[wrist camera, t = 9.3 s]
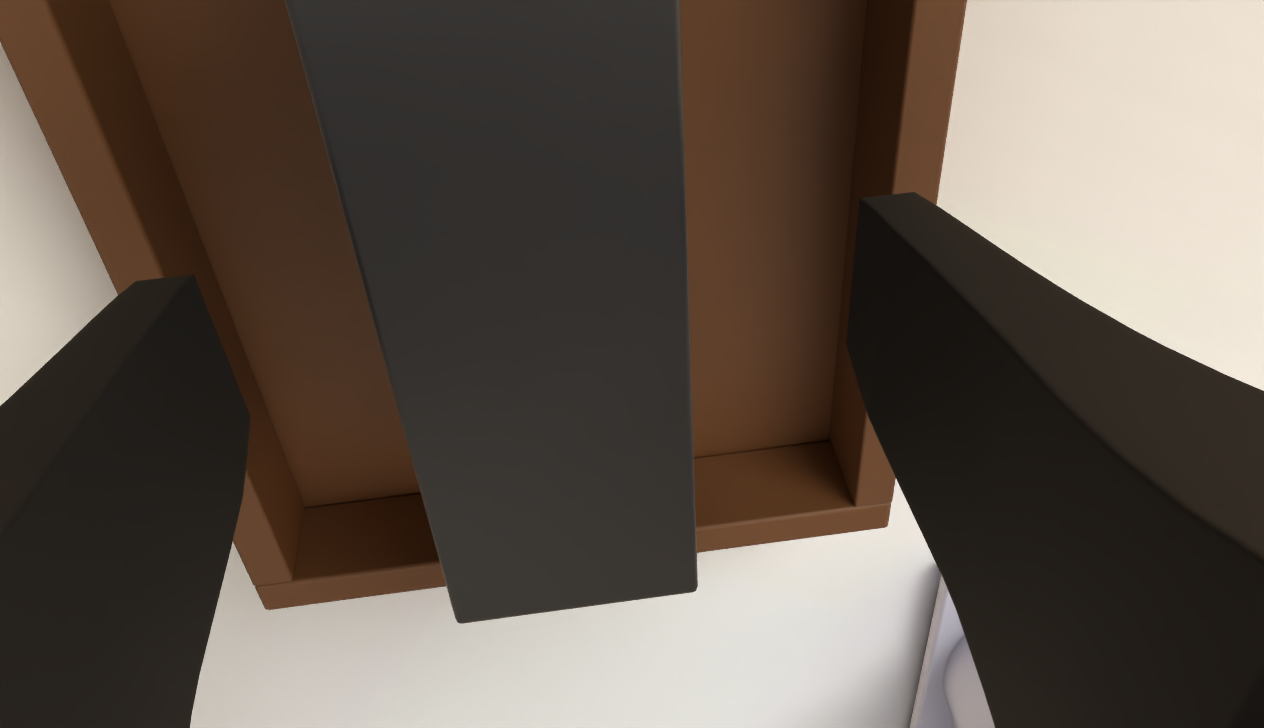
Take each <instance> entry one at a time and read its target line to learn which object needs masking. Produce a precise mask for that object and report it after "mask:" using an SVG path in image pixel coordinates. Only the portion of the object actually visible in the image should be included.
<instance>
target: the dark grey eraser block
mask: <svg viewBox="0 0 1264 728" xmlns="http://www.w3.org/2000/svg"><path fill="white" fill-rule="evenodd" d="M284 1H285V4H286V8H287V11H288V15H289V19H290V22H291V26H292V29H293V33H294V37H295V40H296V44H297V48H298V51H299V55H300V58H301V62H302V66H303V69H304V73H305V76H306V80H307V84H308V87H309V91H310V94H311V98H312V102H313V105H314V109H315V113H316V116H317V120H318V123H319V127H320V131H321V134H322V138H323V141H324V145H325V149H326V152H327V156H328V160H329V163H330V167H331V170H332V174H333V178H334V181H335V185H336V188H337V192H338V196H339V199H340V203H341V206H342V210H343V214H344V217H345V221H346V225H347V228H348V232H349V235H350V239H351V243H352V246H353V250H354V253H355V257H356V261H357V264H358V268H359V272H360V275H361V279H362V282H363V286H364V290H365V293H366V297H367V300H368V304H369V308H370V311H371V315H372V318H373V322H374V326H375V329H376V333H377V337H378V340H379V344H380V347H381V351H382V355H383V358H384V362H385V365H386V369H387V373H388V376H389V380H390V384H391V387H392V391H393V394H394V398H395V402H396V405H397V409H398V412H399V416H400V420H401V423H402V427H403V430H404V434H405V438H406V441H407V445H408V449H409V452H410V456H411V459H412V463H413V467H414V470H415V474H416V477H417V481H418V485H419V488H420V492H421V496H422V499H423V503H424V506H425V510H426V514H427V517H428V521H429V524H430V528H431V532H432V535H433V539H434V542H435V546H436V550H437V553H438V557H439V561H440V564H441V568H442V571H443V575H444V579H445V582H446V586H447V589H448V593H449V597H450V600H451V604H452V608H453V611H454V615H455V618H456V620H457V622H458V623H469V622H477V621H484V620H491V619H499V618H506V617H513V616H521V615H528V614H535V613H543V612H550V611H558V610H565V609H572V608H580V607H587V606H594V605H602V604H609V603H616V602H624V601H631V600H639V599H646V598H653V597H661V596H668V595H675V594H683V593H690V592H694V591H696V589H697V586H698V581H697V547H696V514H695V480H694V447H693V413H692V379H691V346H690V312H689V278H688V245H687V211H686V177H685V144H684V110H683V76H682V43H681V9H680V0H284Z"/></svg>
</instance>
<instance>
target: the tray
mask: <svg viewBox="0 0 1264 728" xmlns="http://www.w3.org/2000/svg"><path fill="white" fill-rule="evenodd" d="M966 3H967V0H680V9H681V43H682V76H683V110H684V144H685V177H686V211H687V245H688V278H689V312H690V346H691V379H692V413H693V447H694V480H695V514H696V547H697V553H698V552H705V551H713V550H720V549H728V548H735V547H743V546H750V545H758V544H765V543H773V542H780V541H788V540H795V539H803V538H810V537H818V536H825V535H833V534H840V533H848V532H855V531H863V530H870V529H877V528H885V527H887V526H888V521H889V514H890V507H891V502H892V498H893V492H894V485H895V478H896V477H895V475H894V472H893V470H892V468H891V466H890V464H889V462H888V459H887V457H886V455H885V453H884V451H883V448H882V446H881V444H880V442H879V440H878V438H877V435H876V433H875V431H874V429H873V426H872V424H871V422H870V420H869V418H868V414H867V411H866V408H865V405H864V402H863V399H862V396H861V392H860V389H859V386H858V383H857V379H856V376H855V372H854V369H853V366H852V362H851V359H850V355H849V352H848V348H847V345H846V340H847V329H848V318H849V307H850V296H851V285H852V274H853V264H854V253H855V242H856V231H857V220H858V209H859V199H860V198H865V197H874V196H883V195H892V194H900V193H909V192H915V193H917V194H919V195H920V196H922V197H924V198H925V199H927V200H929V201H930V202H932V203H933V204H935V205H936V204H937V197H938V190H939V184H940V177H941V170H942V163H943V157H944V150H945V143H946V137H947V130H948V123H949V117H950V110H951V103H952V96H953V90H954V83H955V76H956V70H957V63H958V56H959V50H960V43H961V36H962V29H963V23H964V16H965V9H966ZM0 42H1V44H2V46H3V48H4V51H5V53H6V55H7V57H8V59H9V61H10V63H11V66H12V68H13V70H14V72H15V74H16V76H17V78H18V81H19V83H20V85H21V87H22V89H23V91H24V93H25V96H26V98H27V100H28V102H29V104H30V106H31V108H32V111H33V113H34V115H35V117H36V119H37V121H38V124H39V126H40V128H41V130H42V132H43V134H44V136H45V139H46V141H47V143H48V145H49V147H50V149H51V151H52V154H53V156H54V158H55V160H56V162H57V164H58V166H59V169H60V171H61V173H62V175H63V177H64V179H65V181H66V184H67V186H68V188H69V190H70V192H71V194H72V196H73V199H74V201H75V203H76V205H77V207H78V209H79V211H80V214H81V216H82V218H83V220H84V222H85V224H86V227H87V229H88V231H89V233H90V235H91V237H92V239H93V242H94V244H95V246H96V248H97V250H98V252H99V254H100V257H101V259H102V261H103V263H104V265H105V267H106V269H107V272H108V274H109V276H110V278H111V280H112V282H113V284H114V287H115V289H116V291H117V293H118V295H119V294H121V293H122V292H123V291H124V290H125V289H127V288H128V287H129V286H130V285H132V284H133V283H134V282H135V281H141V280H149V279H158V278H167V277H175V276H184V275H193V274H194V276H195V279H196V281H197V284H198V286H199V289H200V291H201V294H202V296H203V299H204V301H205V304H206V306H207V309H208V311H209V314H210V316H211V319H212V321H213V324H214V326H215V329H216V331H217V334H218V336H219V339H220V341H221V344H222V346H223V349H224V351H225V354H226V356H227V359H228V361H229V364H230V366H231V369H232V371H233V374H234V376H235V379H236V381H237V384H238V386H239V389H240V391H241V394H242V396H243V399H244V401H245V404H246V406H247V409H248V411H249V414H250V428H249V441H248V454H247V465H246V474H245V483H244V493H243V499H242V503H241V507H240V512H239V516H238V520H237V525H236V529H235V533H234V537H233V542H234V544H235V546H236V548H237V551H238V553H239V555H240V557H241V559H242V561H243V563H244V566H245V568H246V570H247V572H248V574H249V576H250V578H251V581H252V583H253V585H254V586H255V588H256V590H257V592H258V594H259V597H260V599H261V601H262V603H263V605H264V607H265V609H267V610H272V609H279V608H287V607H294V606H302V605H309V604H317V603H324V602H331V601H339V600H346V599H354V598H361V597H369V596H376V595H384V594H391V593H399V592H406V591H414V590H421V589H429V588H436V587H444V586H446V582H445V579H444V575H443V571H442V568H441V564H440V561H439V557H438V553H437V550H436V546H435V542H434V539H433V535H432V532H431V528H430V524H429V521H428V517H427V514H426V510H425V506H424V503H423V499H422V496H421V492H420V488H419V485H418V481H417V477H416V474H415V470H414V467H413V463H412V459H411V456H410V452H409V449H408V445H407V441H406V438H405V434H404V430H403V427H402V423H401V420H400V416H399V412H398V409H397V405H396V402H395V398H394V394H393V391H392V387H391V384H390V380H389V376H388V373H387V369H386V365H385V362H384V358H383V355H382V351H381V347H380V344H379V340H378V337H377V333H376V329H375V326H374V322H373V318H372V315H371V311H370V308H369V304H368V300H367V297H366V293H365V290H364V286H363V282H362V279H361V275H360V272H359V268H358V264H357V261H356V257H355V253H354V250H353V246H352V243H351V239H350V235H349V232H348V228H347V225H346V221H345V217H344V214H343V210H342V206H341V203H340V199H339V196H338V192H337V188H336V185H335V181H334V178H333V174H332V170H331V167H330V163H329V160H328V156H327V152H326V149H325V145H324V141H323V138H322V134H321V131H320V127H319V123H318V120H317V116H316V113H315V109H314V105H313V102H312V98H311V94H310V91H309V87H308V84H307V80H306V76H305V73H304V69H303V66H302V62H301V58H300V55H299V51H298V48H297V44H296V40H295V37H294V33H293V29H292V26H291V22H290V19H289V15H288V11H287V8H286V4H285V1H284V0H0Z"/></svg>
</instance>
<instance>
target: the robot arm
mask: <svg viewBox="0 0 1264 728" xmlns="http://www.w3.org/2000/svg"><path fill="white" fill-rule="evenodd" d="M846 345H847V348H848V352H849V355H850V359H851V362H852V366H853V369H854V372H855V376H856V379H857V383H858V386H859V389H860V392H861V396H862V399H863V402H864V405H865V408H866V411H867V414H868V418H869V420H870V422H871V424H872V426H873V429H874V431H875V433H876V435H877V438H878V440H879V442H880V444H881V446H882V448H883V451H884V453H885V455H886V457H887V459H888V462H889V464H890V466H891V468H892V470H893V472H894V475H895V477H896V479H897V481H898V483H899V485H900V487H901V489H902V492H903V494H904V496H905V498H906V500H907V502H908V504H909V506H910V509H911V511H912V513H913V515H914V517H915V519H916V521H917V523H918V526H919V528H920V530H921V532H922V534H923V536H924V538H925V541H926V543H927V545H928V547H929V549H930V551H931V553H932V555H933V558H934V560H935V562H936V564H937V566H938V568H939V570H940V572H941V579H940V584H939V589H938V594H937V599H936V603H935V608H934V613H933V618H932V623H931V627H930V632H929V637H928V642H927V647H926V651H925V656H924V661H923V666H922V671H921V675H920V680H919V685H918V690H917V695H916V699H915V704H914V709H913V714H912V719H911V724H910V728H1264V391H1262V390H1260V389H1258V388H1255V387H1253V386H1250V385H1248V384H1246V383H1243V382H1241V381H1239V380H1236V379H1234V378H1232V377H1229V376H1227V375H1225V374H1223V373H1220V372H1218V371H1216V370H1214V369H1212V368H1210V367H1208V366H1206V365H1203V364H1201V363H1199V362H1197V361H1195V360H1193V359H1191V358H1189V357H1186V356H1184V355H1182V354H1180V353H1178V352H1176V351H1174V350H1172V349H1169V348H1167V347H1165V346H1163V345H1161V344H1159V343H1157V342H1156V341H1154V340H1152V339H1150V338H1148V337H1146V336H1144V335H1142V334H1140V333H1138V332H1136V331H1134V330H1133V329H1131V328H1129V327H1127V326H1125V325H1124V324H1122V323H1120V322H1118V321H1117V320H1115V319H1113V318H1111V317H1110V316H1108V315H1106V314H1104V313H1103V312H1101V311H1099V310H1097V309H1096V308H1094V307H1092V306H1090V305H1088V304H1087V303H1085V302H1083V301H1082V300H1080V299H1078V298H1077V297H1075V296H1073V295H1072V294H1070V293H1068V292H1067V291H1065V290H1064V289H1062V288H1060V287H1059V286H1057V285H1055V284H1054V283H1052V282H1051V281H1049V280H1047V279H1046V278H1044V277H1043V276H1041V275H1040V274H1038V273H1036V272H1035V271H1033V270H1032V269H1030V268H1029V267H1027V266H1026V265H1024V264H1023V263H1021V262H1020V261H1018V260H1017V259H1015V258H1014V257H1012V256H1011V255H1009V254H1008V253H1006V252H1005V251H1003V250H1002V249H1000V248H999V247H997V246H996V245H994V244H993V243H991V242H990V241H988V240H987V239H985V238H984V237H982V236H981V235H979V234H978V233H976V232H975V231H974V230H972V229H971V228H969V227H968V226H966V225H965V224H963V223H962V222H960V221H959V220H957V219H956V218H954V217H953V216H951V215H950V214H948V213H947V212H946V211H944V210H943V209H941V208H939V207H938V206H936V205H935V204H933V203H932V202H930V201H929V200H927V199H925V198H924V197H922V196H920V195H919V194H917V193H915V192H909V193H900V194H892V195H883V196H874V197H865V198H860V199H859V209H858V220H857V231H856V242H855V253H854V264H853V274H852V285H851V296H850V307H849V318H848V329H847V340H846ZM249 428H250V414H249V411H248V409H247V406H246V404H245V401H244V399H243V396H242V394H241V391H240V389H239V386H238V384H237V381H236V379H235V376H234V374H233V371H232V369H231V366H230V364H229V361H228V359H227V356H226V354H225V351H224V349H223V346H222V344H221V341H220V339H219V336H218V334H217V331H216V329H215V326H214V324H213V321H212V319H211V316H210V314H209V311H208V309H207V306H206V304H205V301H204V299H203V296H202V294H201V291H200V289H199V286H198V284H197V281H196V279H195V276H194V274H193V275H184V276H175V277H167V278H158V279H149V280H141V281H135V282H134V283H133V284H132V285H130V286H129V287H128V288H127V289H125V290H124V291H123V292H122V293H121V294H119V295H118V296H117V297H116V298H115V299H114V300H113V301H112V302H111V303H109V304H108V305H107V306H106V307H105V308H104V309H103V310H102V311H101V312H100V313H99V314H98V315H97V316H95V317H94V318H93V319H92V320H91V321H90V322H89V323H88V324H87V325H86V326H85V327H84V328H83V329H82V330H81V331H80V332H79V333H78V334H77V335H75V336H74V337H73V338H72V339H71V340H70V341H69V342H68V343H67V344H66V345H65V346H64V347H63V348H62V349H61V350H60V351H59V352H58V353H57V354H56V355H55V356H53V357H52V358H51V359H50V360H49V361H48V362H47V363H46V364H45V365H44V366H43V367H42V368H41V369H40V370H39V371H38V372H36V373H35V374H34V375H33V376H32V377H31V378H30V379H29V380H28V381H27V382H26V383H25V384H24V385H23V386H22V387H21V388H19V389H18V390H17V391H16V392H15V393H14V394H13V395H12V396H11V397H10V398H9V399H8V400H7V401H5V402H4V403H3V404H2V405H1V406H0V728H190V722H191V715H192V709H193V704H194V699H195V694H196V689H197V684H198V679H199V674H200V670H201V666H202V662H203V658H204V654H205V650H206V646H207V642H208V638H209V634H210V630H211V626H212V622H213V618H214V614H215V610H216V606H217V602H218V598H219V594H220V590H221V586H222V582H223V578H224V574H225V570H226V566H227V562H228V558H229V554H230V550H231V545H232V541H233V537H234V533H235V529H236V525H237V520H238V516H239V512H240V507H241V503H242V499H243V493H244V483H245V474H246V465H247V454H248V441H249Z"/></svg>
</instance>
